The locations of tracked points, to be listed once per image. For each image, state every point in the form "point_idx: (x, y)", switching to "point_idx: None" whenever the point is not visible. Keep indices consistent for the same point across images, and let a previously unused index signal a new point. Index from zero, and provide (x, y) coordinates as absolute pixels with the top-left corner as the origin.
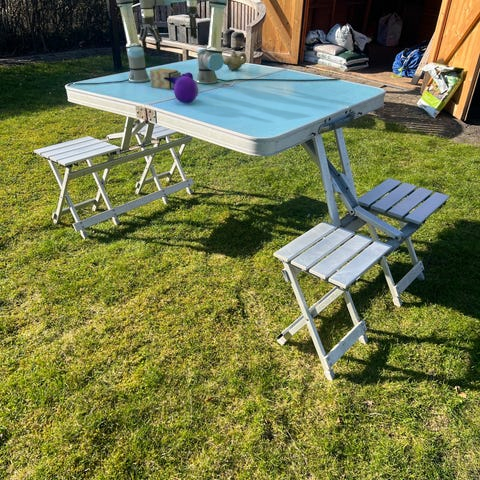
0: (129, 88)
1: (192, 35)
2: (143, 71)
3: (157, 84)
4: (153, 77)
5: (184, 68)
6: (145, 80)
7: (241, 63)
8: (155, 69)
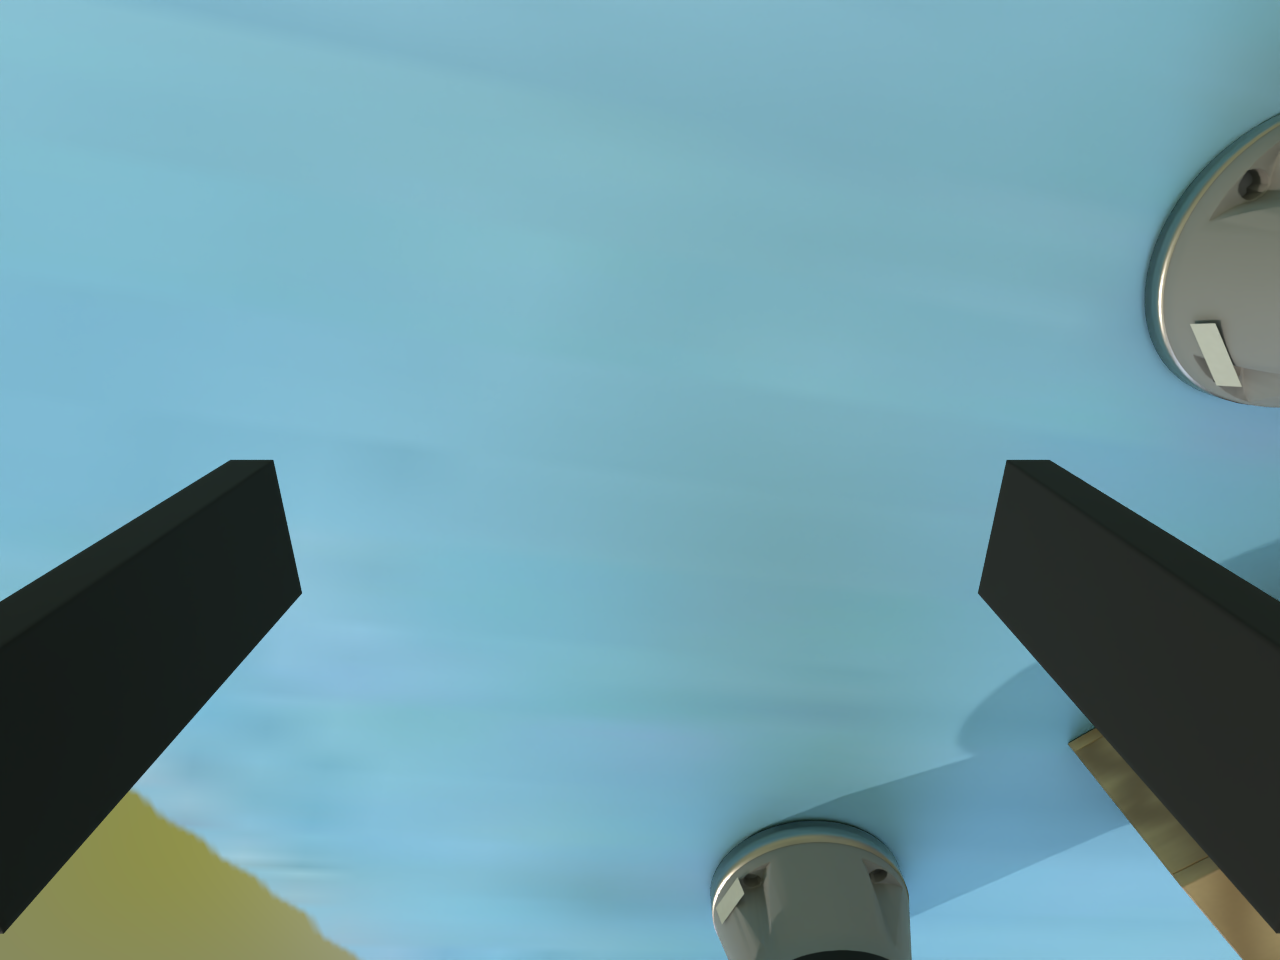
0: (1082, 954)
1: (261, 548)
2: (900, 951)
3: None
4: None
5: (129, 403)
6: (895, 864)
7: None
8: (1238, 929)
